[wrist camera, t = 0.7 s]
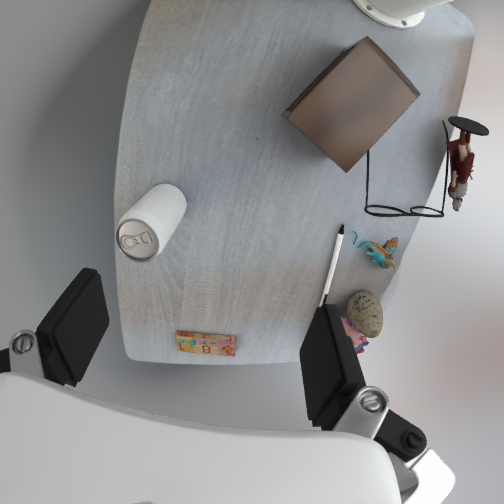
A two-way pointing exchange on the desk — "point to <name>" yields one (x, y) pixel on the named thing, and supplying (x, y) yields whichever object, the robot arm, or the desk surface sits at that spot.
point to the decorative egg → (365, 313)
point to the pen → (332, 265)
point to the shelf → (352, 103)
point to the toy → (206, 343)
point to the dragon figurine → (381, 252)
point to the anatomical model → (354, 335)
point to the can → (150, 223)
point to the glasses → (412, 207)
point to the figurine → (462, 157)
